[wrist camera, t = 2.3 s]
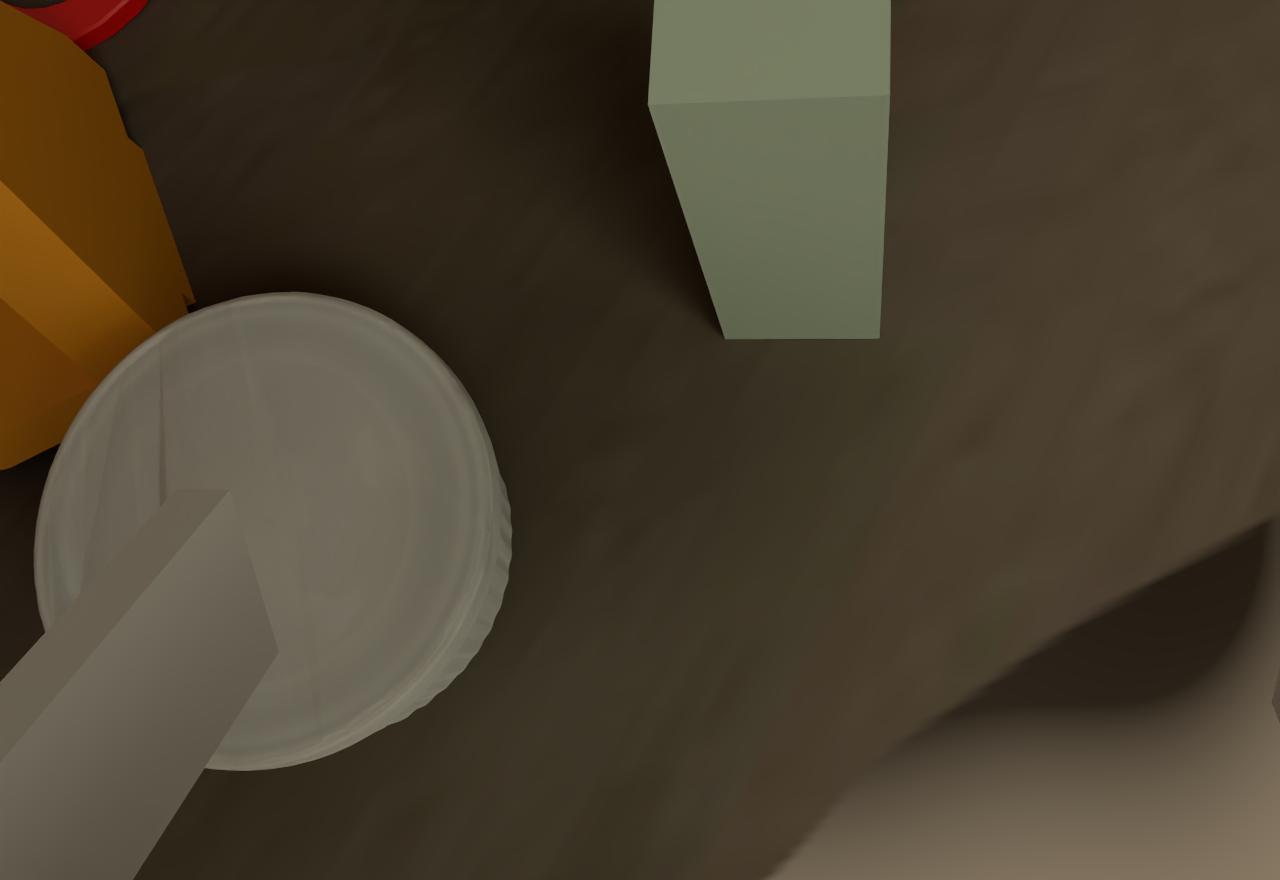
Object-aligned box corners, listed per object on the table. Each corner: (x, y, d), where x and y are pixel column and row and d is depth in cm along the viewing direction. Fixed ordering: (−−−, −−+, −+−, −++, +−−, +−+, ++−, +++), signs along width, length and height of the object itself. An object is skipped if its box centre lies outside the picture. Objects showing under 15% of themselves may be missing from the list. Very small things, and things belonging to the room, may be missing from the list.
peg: (725, 338, 32) (647, 105, 20) (731, 199, 33) (660, -99, 21) (879, 338, 31) (889, 95, 20) (880, 196, 32) (891, -116, 20)
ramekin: (82, 536, 34) (-54, 498, 29) (385, 278, 34) (303, 195, 29) (299, 863, 30) (187, 885, 25) (633, 572, 31) (589, 537, 26)
